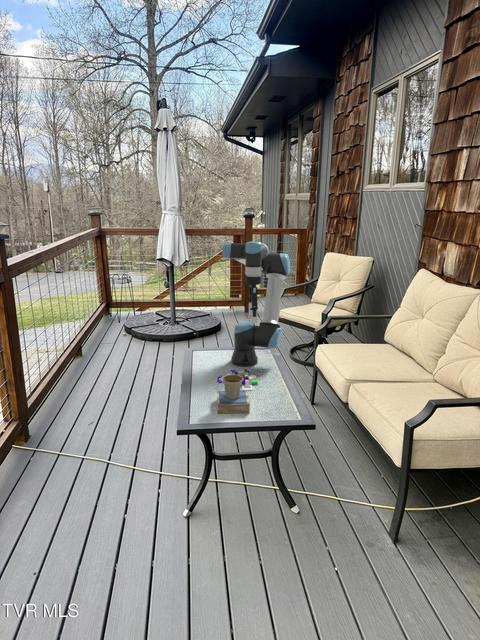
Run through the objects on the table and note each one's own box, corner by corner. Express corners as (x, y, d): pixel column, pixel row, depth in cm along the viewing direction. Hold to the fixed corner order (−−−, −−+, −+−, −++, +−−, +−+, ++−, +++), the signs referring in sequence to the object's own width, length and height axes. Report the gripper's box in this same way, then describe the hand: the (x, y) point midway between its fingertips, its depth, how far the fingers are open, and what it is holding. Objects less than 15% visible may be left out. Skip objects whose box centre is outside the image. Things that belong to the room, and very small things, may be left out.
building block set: (218, 372, 232) (218, 364, 231) (255, 371, 233) (255, 364, 232) (216, 391, 208) (216, 383, 207) (258, 391, 209) (258, 383, 208)
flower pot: (219, 393, 194) (218, 376, 191) (238, 390, 197) (238, 373, 195) (226, 402, 185) (226, 384, 183) (246, 398, 189) (246, 380, 187)
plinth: (217, 399, 199) (217, 390, 197) (247, 399, 200) (247, 389, 198) (217, 414, 185) (217, 404, 184) (249, 413, 186) (249, 403, 185)
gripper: (264, 280, 187) (263, 326, 193) (258, 271, 211) (257, 312, 217) (247, 280, 187) (247, 326, 193) (243, 271, 211) (243, 312, 217)
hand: (252, 319), depth 205 cm, fingers open, 13 cm apart
